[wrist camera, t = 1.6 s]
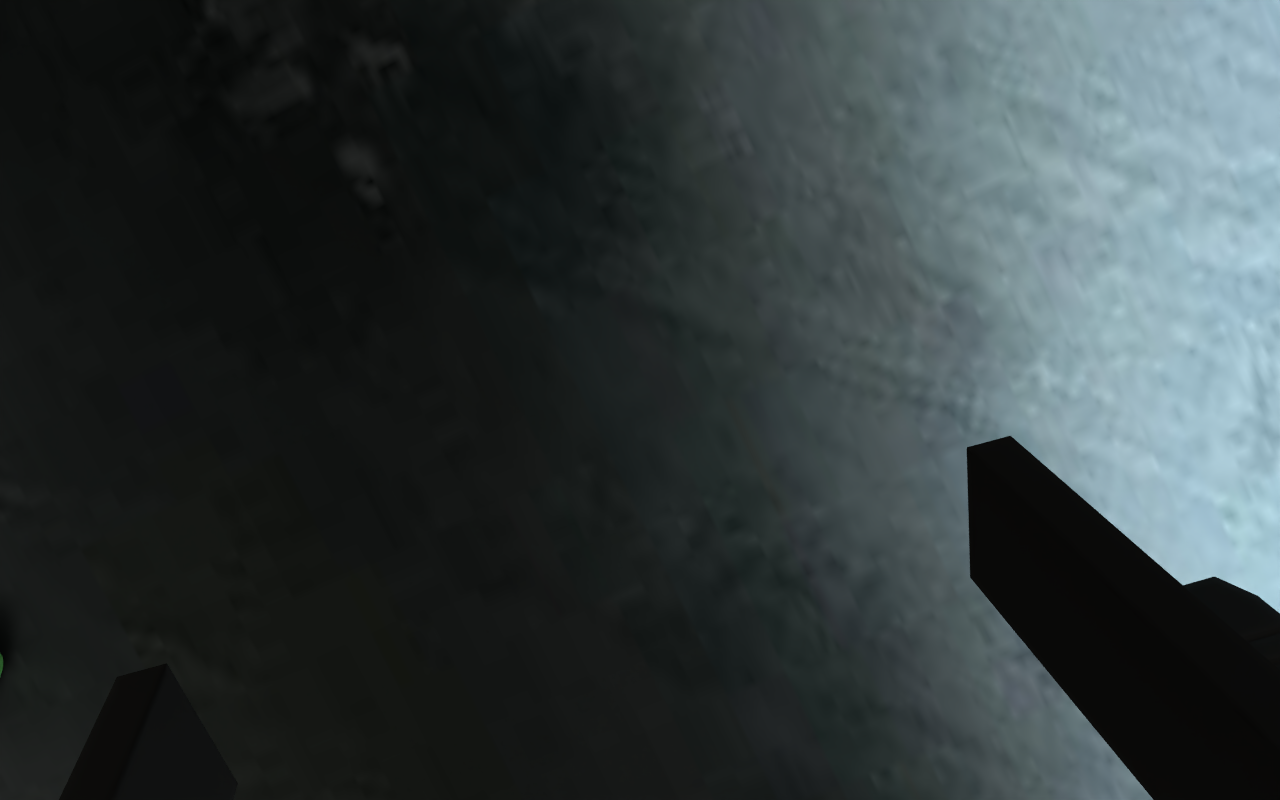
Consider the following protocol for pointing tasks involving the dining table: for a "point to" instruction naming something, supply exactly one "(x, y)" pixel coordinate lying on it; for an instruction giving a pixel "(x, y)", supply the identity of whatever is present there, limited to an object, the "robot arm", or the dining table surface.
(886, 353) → the dining table surface
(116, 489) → the dining table surface
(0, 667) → the speaker
